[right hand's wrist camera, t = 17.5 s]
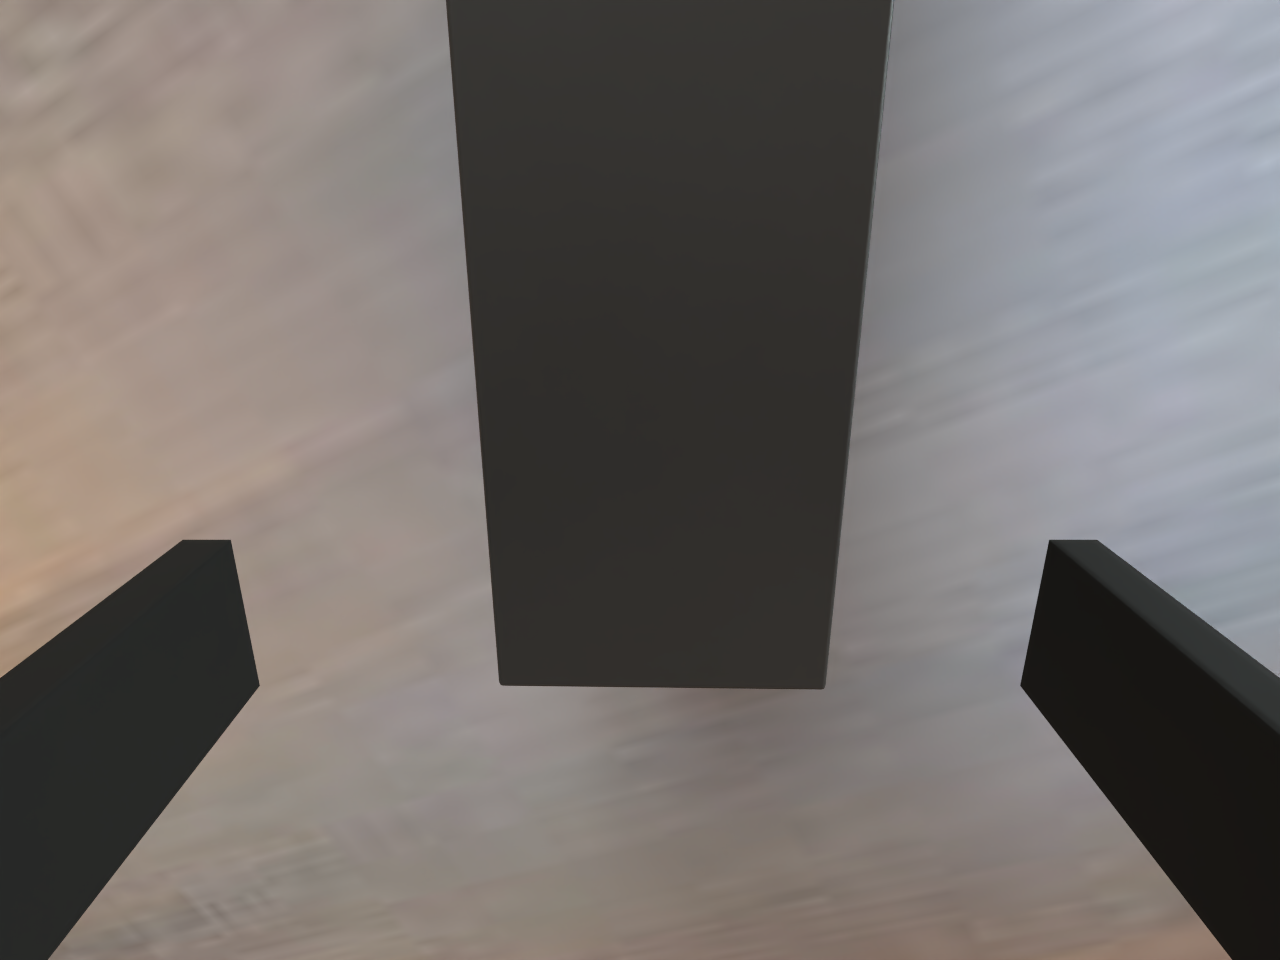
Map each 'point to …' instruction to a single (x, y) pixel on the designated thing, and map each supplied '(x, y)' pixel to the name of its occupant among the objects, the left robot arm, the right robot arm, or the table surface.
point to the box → (666, 325)
